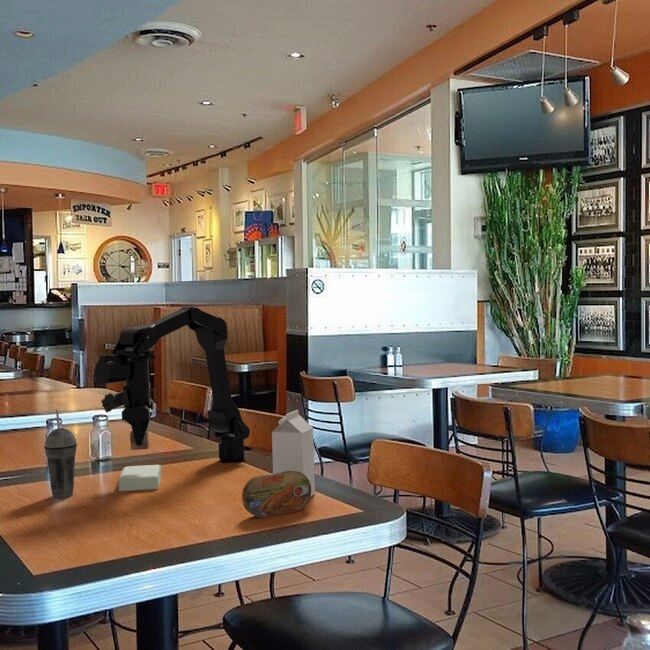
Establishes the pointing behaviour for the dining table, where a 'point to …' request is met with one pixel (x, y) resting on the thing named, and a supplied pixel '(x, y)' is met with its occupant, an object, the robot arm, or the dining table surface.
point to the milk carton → (294, 447)
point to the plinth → (140, 478)
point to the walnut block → (144, 444)
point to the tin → (276, 494)
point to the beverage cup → (61, 460)
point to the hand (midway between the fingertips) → (139, 444)
